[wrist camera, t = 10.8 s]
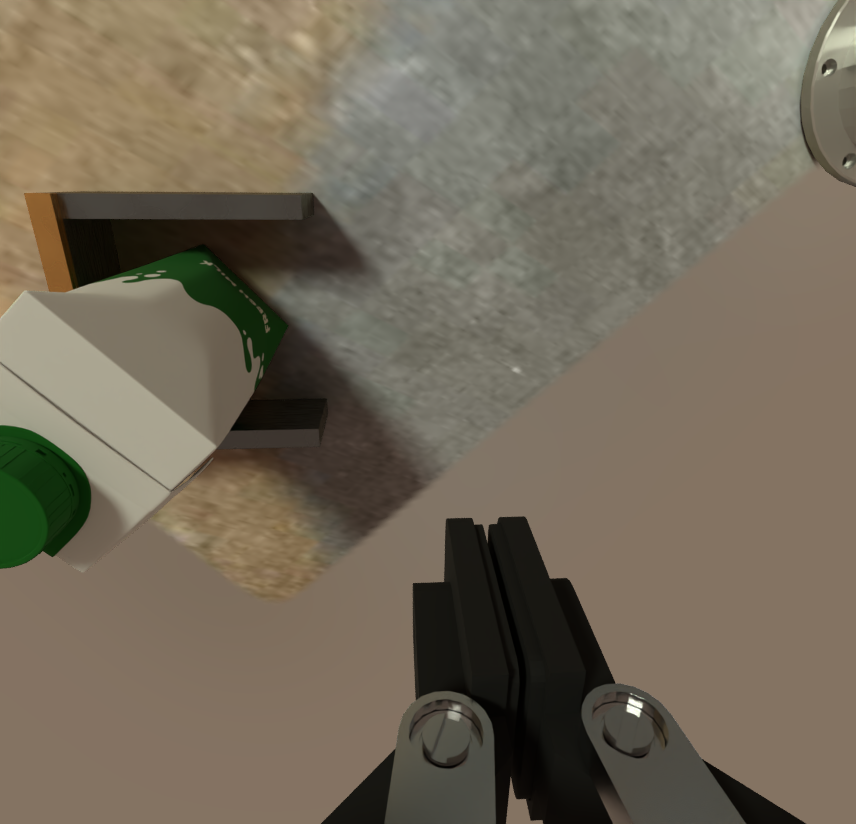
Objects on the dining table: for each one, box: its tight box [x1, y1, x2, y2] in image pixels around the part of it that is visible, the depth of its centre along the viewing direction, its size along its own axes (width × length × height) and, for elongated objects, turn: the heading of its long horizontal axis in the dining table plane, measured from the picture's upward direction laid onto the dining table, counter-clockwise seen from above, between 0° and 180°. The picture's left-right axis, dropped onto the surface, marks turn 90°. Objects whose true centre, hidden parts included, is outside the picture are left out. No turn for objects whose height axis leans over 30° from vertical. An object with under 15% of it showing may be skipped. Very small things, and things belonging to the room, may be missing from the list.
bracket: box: [24, 191, 328, 449], centre depth 32 cm, size 13×14×6 cm
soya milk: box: [0, 244, 288, 572], centre depth 26 cm, size 9×9×20 cm
